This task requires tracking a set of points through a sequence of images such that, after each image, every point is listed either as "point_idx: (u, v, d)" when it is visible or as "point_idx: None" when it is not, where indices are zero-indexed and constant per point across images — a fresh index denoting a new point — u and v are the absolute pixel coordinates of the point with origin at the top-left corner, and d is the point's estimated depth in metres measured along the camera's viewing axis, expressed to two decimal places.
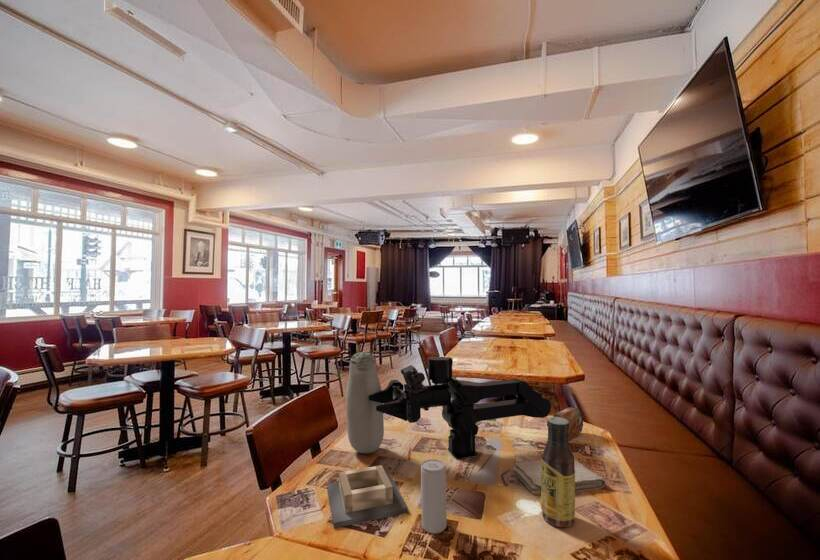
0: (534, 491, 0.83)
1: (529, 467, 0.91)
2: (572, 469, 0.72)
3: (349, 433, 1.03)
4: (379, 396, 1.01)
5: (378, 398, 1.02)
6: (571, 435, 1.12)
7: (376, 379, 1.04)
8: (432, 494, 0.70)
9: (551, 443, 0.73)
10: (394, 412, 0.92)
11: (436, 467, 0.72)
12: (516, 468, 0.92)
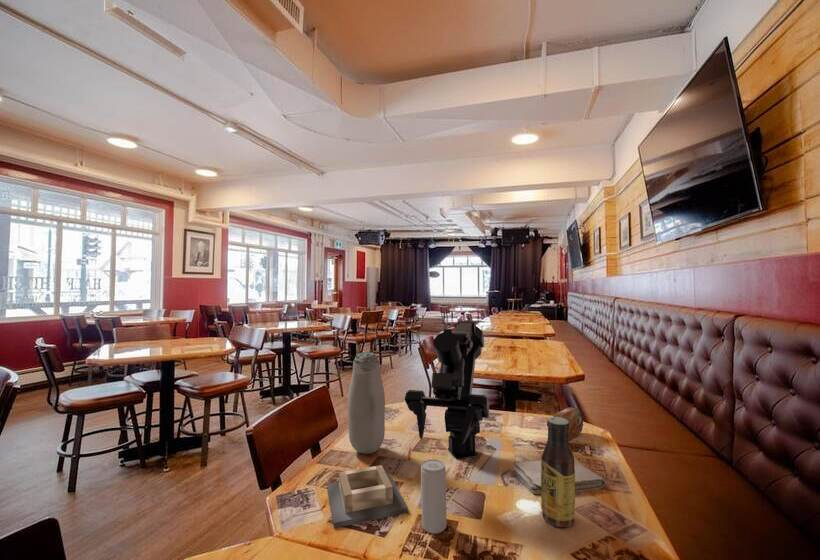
0: (533, 491, 0.83)
1: (529, 467, 0.91)
2: (572, 469, 0.72)
3: (350, 433, 1.03)
4: (423, 425, 0.83)
5: (422, 426, 0.83)
6: (571, 435, 1.12)
7: (379, 380, 1.05)
8: (432, 494, 0.70)
9: (551, 443, 0.73)
10: (471, 425, 0.82)
11: (436, 467, 0.72)
12: (516, 468, 0.92)
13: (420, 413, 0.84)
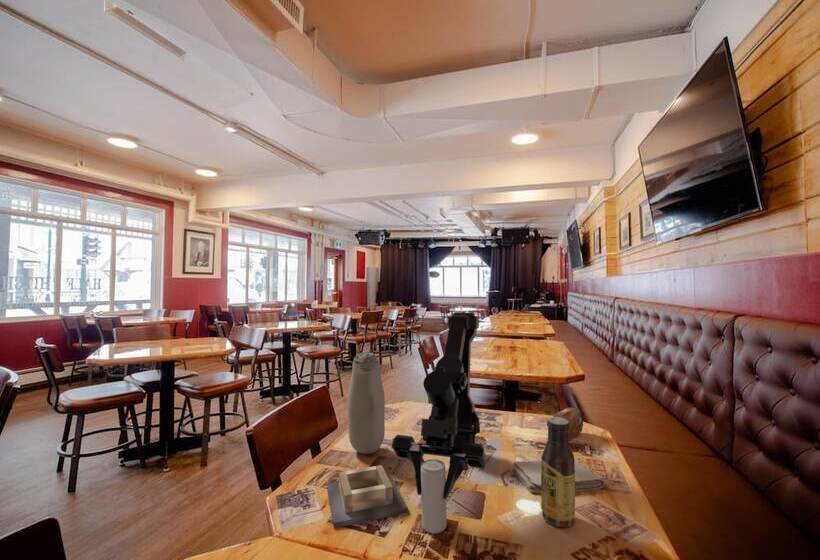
0: (532, 490, 0.83)
1: (528, 467, 0.91)
2: (572, 469, 0.72)
3: (350, 433, 1.03)
4: None
5: None
6: (571, 435, 1.12)
7: (379, 380, 1.05)
8: (432, 494, 0.70)
9: (551, 443, 0.73)
10: (455, 476, 0.74)
11: (436, 467, 0.72)
12: (515, 467, 0.92)
13: (418, 465, 0.74)
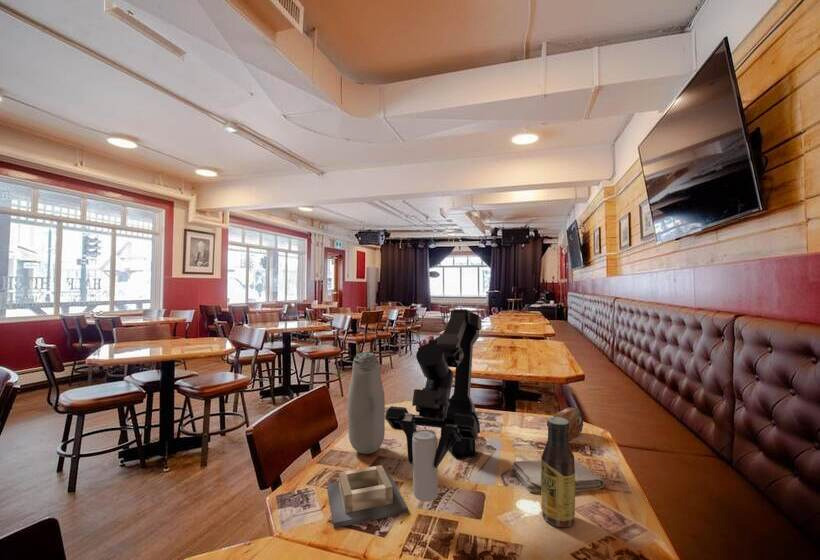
0: (530, 489, 0.84)
1: (528, 466, 0.91)
2: (572, 469, 0.72)
3: (350, 433, 1.03)
4: None
5: None
6: (571, 435, 1.12)
7: (379, 380, 1.05)
8: (423, 462, 0.71)
9: (551, 443, 0.73)
10: (447, 447, 0.74)
11: (427, 436, 0.72)
12: (515, 466, 0.92)
13: (410, 434, 0.75)
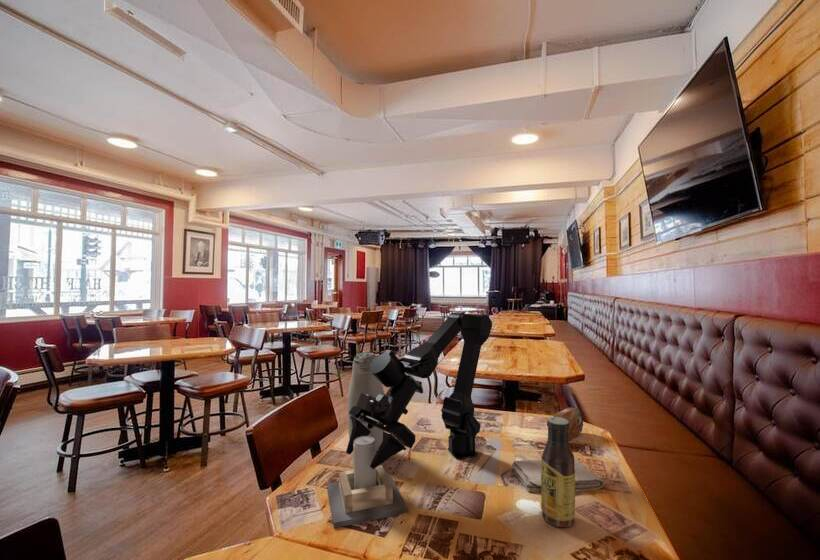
0: (529, 488, 0.84)
1: (527, 466, 0.92)
2: (572, 469, 0.72)
3: (350, 433, 1.03)
4: None
5: None
6: (571, 435, 1.12)
7: None
8: (356, 464, 0.80)
9: (551, 443, 0.73)
10: (389, 452, 0.79)
11: (363, 442, 0.81)
12: (514, 466, 0.93)
13: (354, 429, 0.87)
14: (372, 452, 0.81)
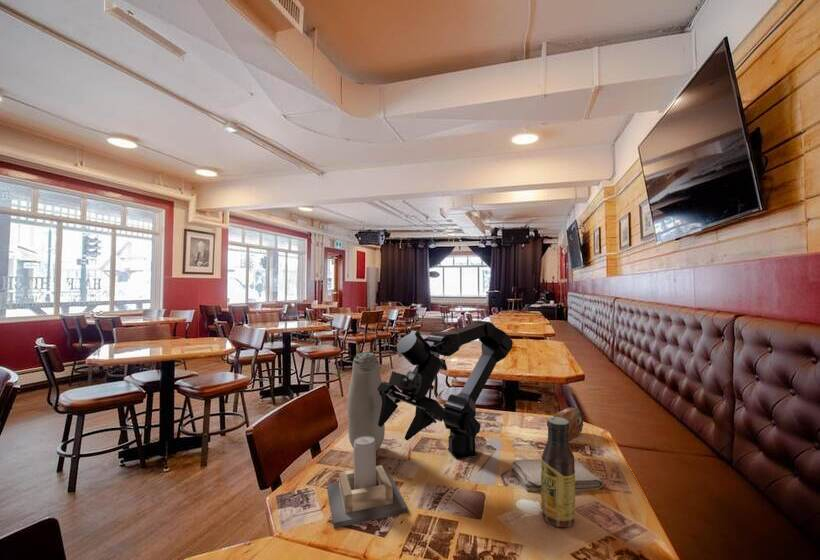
0: (528, 488, 0.84)
1: (527, 465, 0.92)
2: (572, 469, 0.72)
3: (350, 433, 1.03)
4: (385, 415, 0.92)
5: (385, 416, 0.93)
6: (571, 435, 1.12)
7: (379, 380, 1.05)
8: (356, 464, 0.80)
9: (551, 443, 0.73)
10: (421, 425, 0.86)
11: (364, 442, 0.81)
12: (514, 465, 0.93)
13: (384, 404, 0.93)
14: (372, 452, 0.81)
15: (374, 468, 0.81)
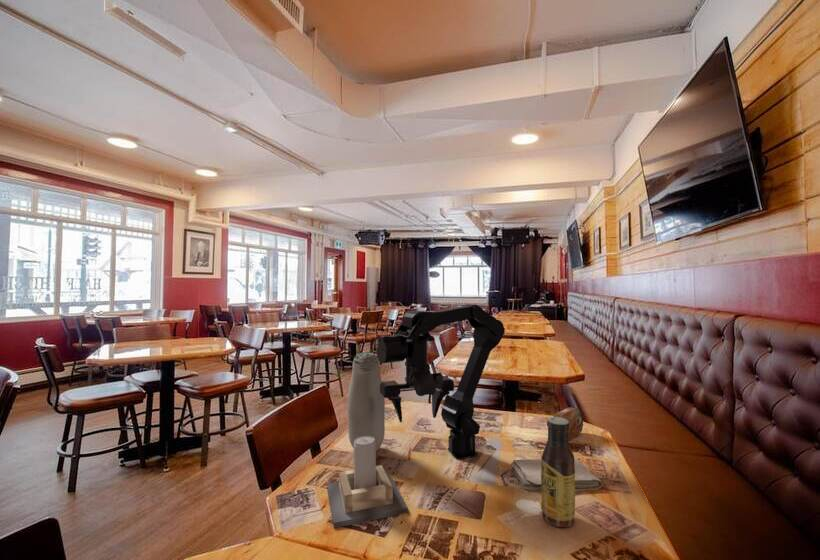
0: (526, 487, 0.85)
1: (526, 465, 0.92)
2: (572, 469, 0.72)
3: (350, 433, 1.03)
4: None
5: None
6: (571, 435, 1.12)
7: (379, 380, 1.05)
8: (356, 464, 0.80)
9: (551, 443, 0.73)
10: None
11: (364, 442, 0.81)
12: (514, 464, 0.94)
13: (399, 404, 0.94)
14: (372, 452, 0.81)
15: (374, 468, 0.81)
